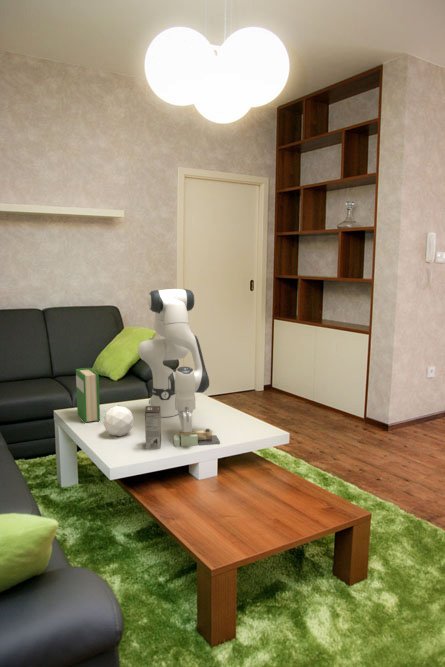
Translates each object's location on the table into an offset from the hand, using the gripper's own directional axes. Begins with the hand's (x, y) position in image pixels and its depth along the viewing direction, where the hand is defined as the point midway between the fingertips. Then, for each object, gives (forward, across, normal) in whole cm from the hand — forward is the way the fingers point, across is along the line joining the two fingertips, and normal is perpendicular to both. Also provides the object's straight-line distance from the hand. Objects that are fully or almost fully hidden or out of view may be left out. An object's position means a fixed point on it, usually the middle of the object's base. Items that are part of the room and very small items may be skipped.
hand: (185, 435), depth 230 cm
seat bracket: (+2, -4, +1) cm, 4 cm away
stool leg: (+1, -3, -4) cm, 5 cm away
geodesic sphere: (+2, +14, +29) cm, 32 cm away
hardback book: (+3, +44, +44) cm, 63 cm away
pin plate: (+2, -3, -9) cm, 10 cm away
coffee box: (+2, -4, +14) cm, 15 cm away
